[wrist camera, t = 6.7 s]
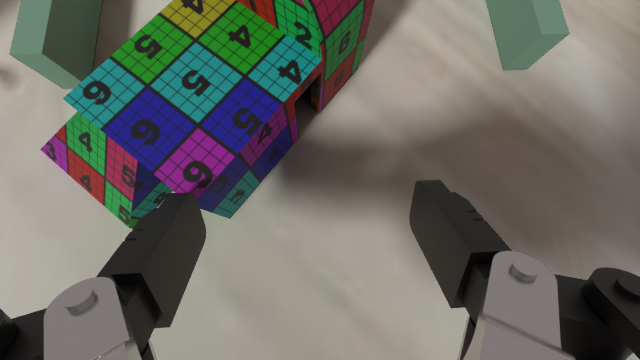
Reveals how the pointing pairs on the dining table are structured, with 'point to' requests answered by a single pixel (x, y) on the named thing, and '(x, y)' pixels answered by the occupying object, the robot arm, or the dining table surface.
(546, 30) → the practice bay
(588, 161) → the dining table surface
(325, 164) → the dining table surface
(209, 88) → the building blocks
